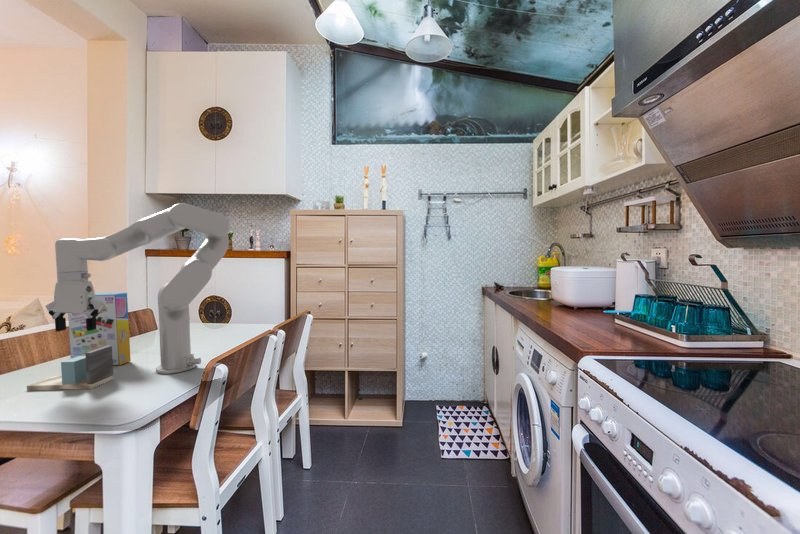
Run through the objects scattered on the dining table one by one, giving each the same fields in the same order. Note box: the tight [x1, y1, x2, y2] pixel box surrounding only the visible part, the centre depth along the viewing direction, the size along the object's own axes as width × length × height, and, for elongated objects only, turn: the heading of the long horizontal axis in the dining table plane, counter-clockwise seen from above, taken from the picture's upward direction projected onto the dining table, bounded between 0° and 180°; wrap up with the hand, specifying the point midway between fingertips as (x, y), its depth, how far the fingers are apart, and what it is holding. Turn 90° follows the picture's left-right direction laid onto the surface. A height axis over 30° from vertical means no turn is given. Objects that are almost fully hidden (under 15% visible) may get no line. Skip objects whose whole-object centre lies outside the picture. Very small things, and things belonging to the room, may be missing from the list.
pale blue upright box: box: [60, 356, 87, 384], centre depth 122 cm, size 4×7×7 cm, turn 2°
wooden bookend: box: [26, 346, 114, 391], centre depth 122 cm, size 20×9×12 cm, turn 91°
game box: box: [67, 292, 132, 366], centre depth 145 cm, size 21×6×27 cm, turn 84°
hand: (76, 330), depth 121 cm, fingers open, 9 cm apart
